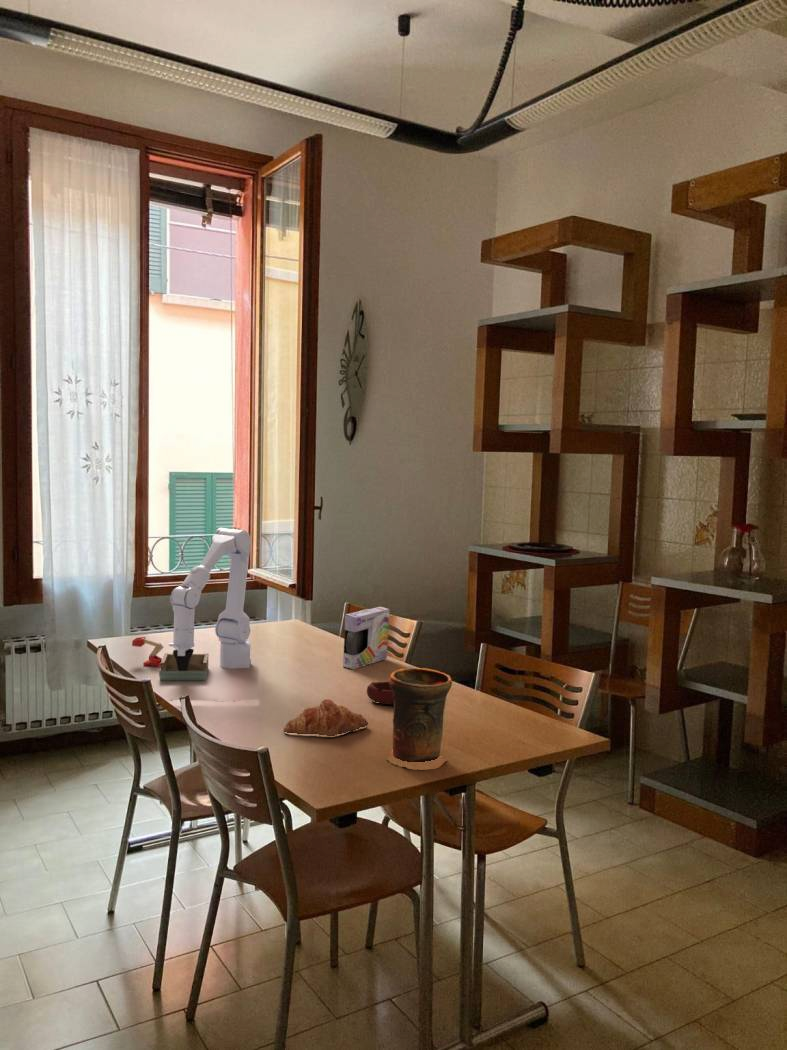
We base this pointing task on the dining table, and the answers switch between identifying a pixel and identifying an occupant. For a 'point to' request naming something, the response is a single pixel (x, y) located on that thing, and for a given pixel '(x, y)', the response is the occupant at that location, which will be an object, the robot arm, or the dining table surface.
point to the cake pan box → (365, 637)
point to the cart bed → (194, 664)
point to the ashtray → (380, 692)
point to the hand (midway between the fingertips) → (182, 674)
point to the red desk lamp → (153, 658)
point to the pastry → (326, 720)
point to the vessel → (418, 713)
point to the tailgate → (182, 675)
